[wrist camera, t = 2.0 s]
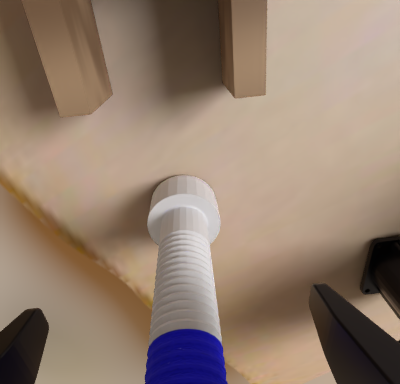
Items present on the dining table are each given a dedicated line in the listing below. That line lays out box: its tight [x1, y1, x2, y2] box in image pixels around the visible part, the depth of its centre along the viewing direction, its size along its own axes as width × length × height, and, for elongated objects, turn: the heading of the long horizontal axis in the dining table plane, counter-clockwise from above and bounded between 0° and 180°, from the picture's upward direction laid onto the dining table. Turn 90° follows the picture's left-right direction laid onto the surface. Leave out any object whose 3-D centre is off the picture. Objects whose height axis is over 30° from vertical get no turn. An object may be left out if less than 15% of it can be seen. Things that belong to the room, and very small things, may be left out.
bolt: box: [145, 175, 228, 384], centre depth 16 cm, size 16×5×5 cm
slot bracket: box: [21, 0, 267, 118], centre depth 14 cm, size 8×10×5 cm
